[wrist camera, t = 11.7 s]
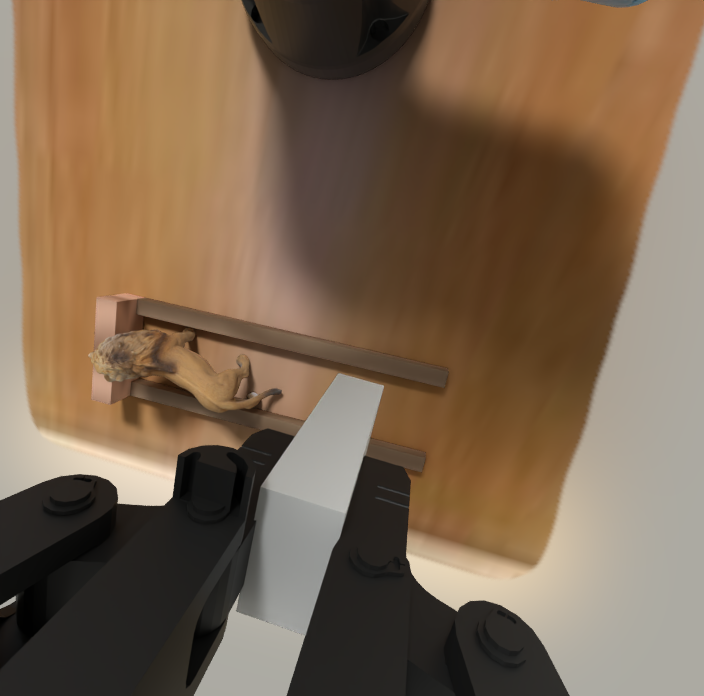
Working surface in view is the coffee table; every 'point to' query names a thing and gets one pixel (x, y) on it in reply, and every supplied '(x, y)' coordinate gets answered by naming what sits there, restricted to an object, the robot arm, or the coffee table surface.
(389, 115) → the coffee table surface
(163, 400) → the track
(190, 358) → the lion figurine
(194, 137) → the coffee table surface
